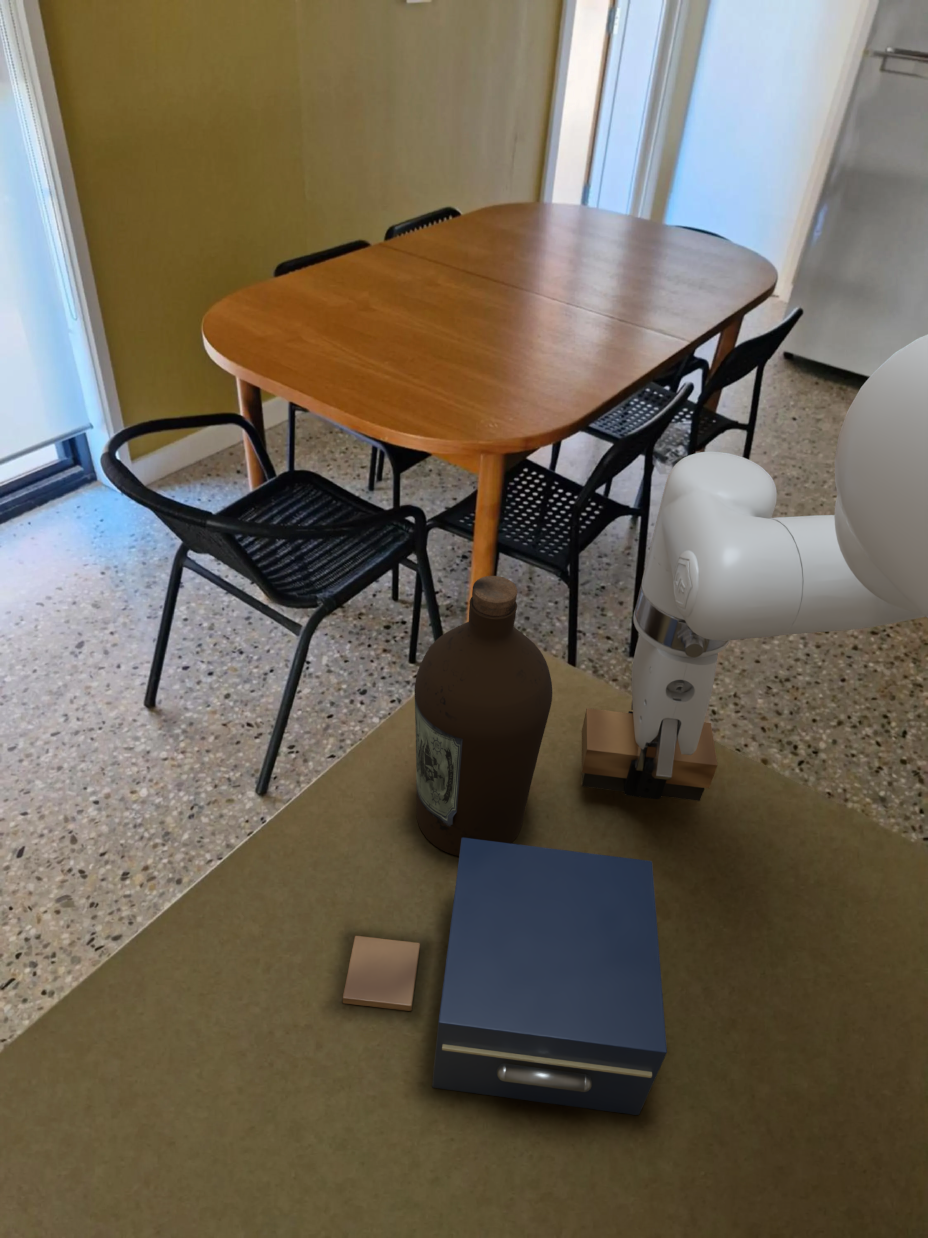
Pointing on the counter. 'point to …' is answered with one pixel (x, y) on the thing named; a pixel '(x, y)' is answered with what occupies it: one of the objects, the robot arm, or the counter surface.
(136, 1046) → the counter surface
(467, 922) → the blue drawer box
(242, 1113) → the counter surface
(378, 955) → the coaster
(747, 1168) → the counter surface
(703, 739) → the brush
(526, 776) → the olive oil
